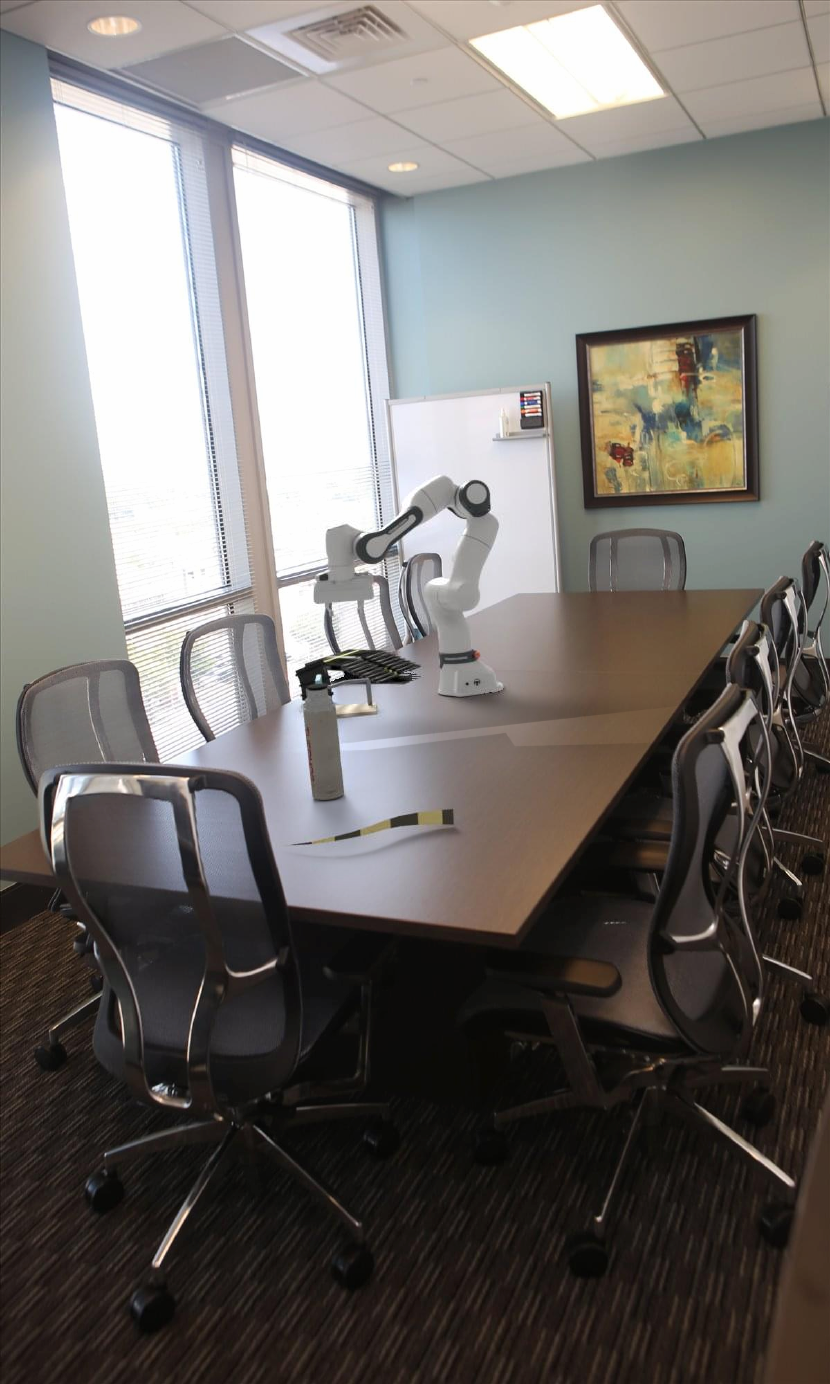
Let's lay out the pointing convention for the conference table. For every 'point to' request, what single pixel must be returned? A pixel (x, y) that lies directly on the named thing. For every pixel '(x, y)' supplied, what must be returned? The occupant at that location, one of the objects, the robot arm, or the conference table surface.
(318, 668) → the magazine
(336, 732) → the thermos bottle
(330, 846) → the conference table surface
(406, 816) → the tape
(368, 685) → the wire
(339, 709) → the board
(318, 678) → the light blue tall piece
